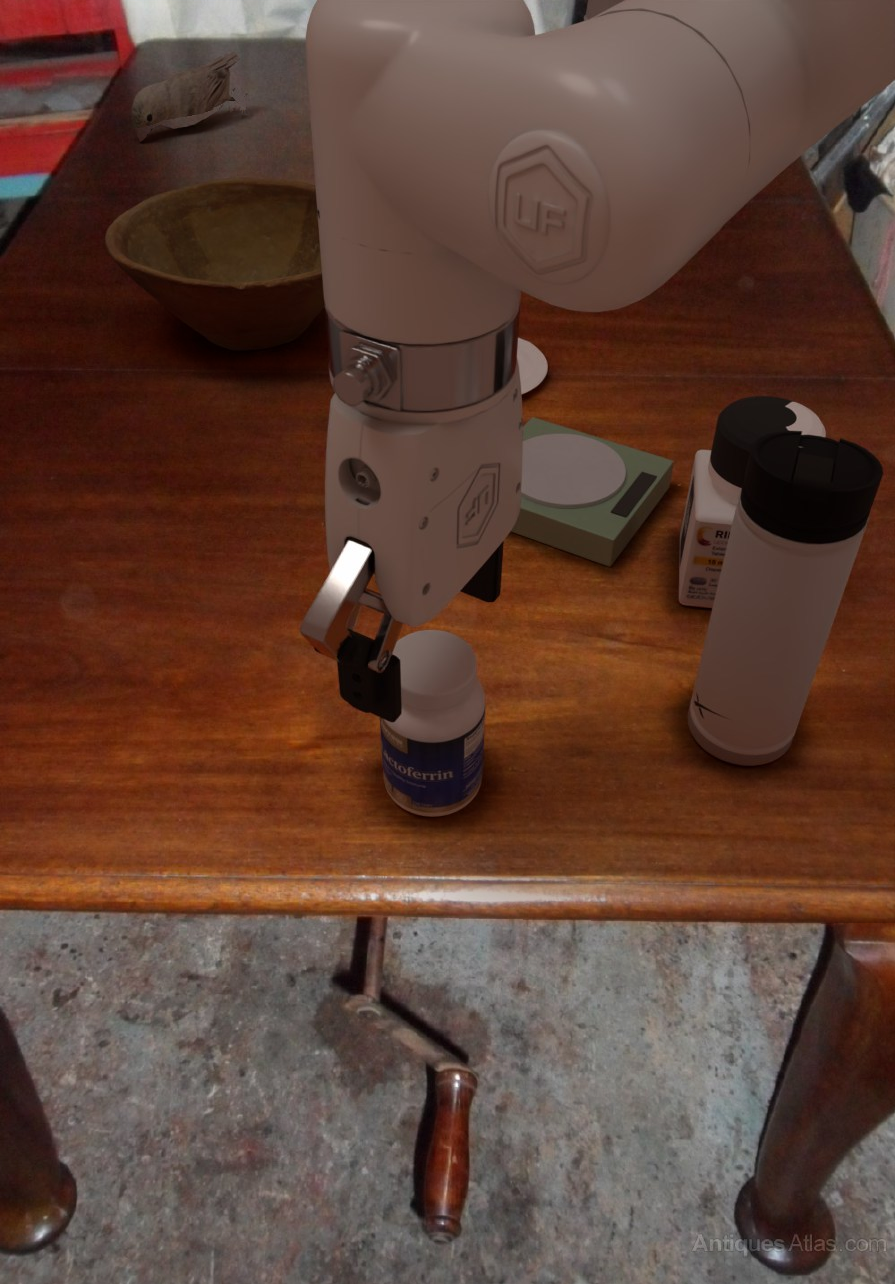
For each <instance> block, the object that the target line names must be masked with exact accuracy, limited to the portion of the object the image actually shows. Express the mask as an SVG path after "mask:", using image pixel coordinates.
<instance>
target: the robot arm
mask: <svg viewBox="0 0 895 1284" xmlns="http://www.w3.org/2000/svg"><path fill="white" fill-rule="evenodd" d="M310 11H311V12H310V14H309V16H308V17H309V18H308V21H307V25H306V32H305V61H306V77H307V78H306V79H307V90H308V91H307V93H308V103H309V104H308V105H309V116H310V117H309V118H310V131H311V143H312V144H311V147H312V158H313V159H312V160H313V170H314V171H313V172H314V185H316V199H317V213H318V227H319V240H320V253H321V266H322V279H323V293H324V304H325V307H324V316H325V326H326V327H325V329H326V341H327V354H328V355H327V358H328V372H329V381H330V385H331V388H332V389H333V391H334V393H333V395H332V397H331V399H330V403H329V413H328V423H327V434H326V450H325V470H324V511H325V512H324V514H325V515H324V519H325V522H324V524H325V525H324V527H325V538H326V540H325V542H326V552H327V560H328V561H327V562H328V568H329V574H328V575H327V577H326V579H325V581H324V582H323V584H322V586H321V587H320V589H319V591H318V593H317V594H316V596H315V598H314V600H313V602H312V603H311V605H310V607H309V608H308V610H307V612H306V614H305V615H304V617H303V619H302V621H301V624H300V628H299V631H300V632H299V633H300V634H301V636H302V637H303V638H304V639H305V640H306V641H307V642H308V643H309V644H310V645H311V646H312V647H313V649H314V651H315V652H316V653H319V654H321V655H323V656H325V657H328V658H329V659H332V660H334V661H336V666H337V676H338V678H337V679H338V687H339V688H338V689H339V695H340V697H341V699H342V700H343V701H345V702H346V703H348V704H349V706H351V707H352V708H354V709H355V710H358V711H360V712H362V713H366V714H372V715H374V716H376V717H379V719H380V718H383V719H385V720H387V721H389V722H395V721H396V720H397V719H398V717H399V716H400V715H401V713H402V703H401V666H400V659H399V658H398V657H397V656H395V655H393V654H392V653H393V651H394V648H395V645H396V642H397V641H398V640H399V636H400V633H401V631H402V628H403V625H407V626H408V627H411V628H417V627H420V626H423V625H425V624H427V623H429V622H430V621H432V620H433V619H435V618H436V617H437V616H438V615H440V613H442V611H444V609H445V608H446V607H447V606H448V605H449V604H450V603H451V602H452V601H453V600H454V599H455V597H456V596H457V595H458V594H459V593H460V592H461V593H462V594H466V595H467V596H471V597H473V598H476V599H478V600H481V601H482V602H485V603H495V602H496V600H497V599H498V598H499V597H500V595H501V587H502V574H503V573H502V572H503V558H504V544H505V543H504V541H505V539H506V538H507V537H508V535H509V534H510V533H511V530H512V528H513V527H514V525H515V523H516V521H517V518H518V516H519V512H520V503H521V486H522V452H523V426H524V425H523V424H524V423H523V398H522V395H523V394H521V381H520V372H519V365H518V359H517V346H518V338H519V332H520V331H519V329H520V314H521V298H522V297H521V296H522V292H523V293H524V294H526V295H528V296H530V297H533V298H535V299H536V300H539V301H542V302H544V303H546V304H549V305H551V306H555V307H558V308H561V309H565V310H569V311H575V312H584V313H600V312H601V313H602V312H608V311H614V310H618V309H623V308H625V307H628V306H630V305H632V304H635V303H637V302H639V301H641V300H643V299H645V298H647V297H649V296H650V295H651V294H652V293H654V292H655V291H656V290H658V289H659V288H661V287H662V286H663V285H665V283H667V282H668V281H669V280H670V279H671V278H673V276H674V275H675V274H677V273H678V272H679V271H680V270H681V269H682V268H683V267H684V266H685V265H687V263H688V262H689V261H690V260H691V259H692V258H693V257H695V255H696V254H697V253H698V252H699V251H701V249H702V248H703V247H704V246H705V245H706V244H708V243H709V241H710V240H711V239H713V238H714V237H715V236H716V234H718V232H720V231H721V230H722V228H723V227H724V226H725V224H726V223H728V222H729V221H730V220H731V219H732V218H733V217H734V216H735V215H736V214H737V213H738V212H739V211H740V210H741V209H742V208H743V207H744V206H745V205H747V204H748V203H749V202H750V201H751V200H752V199H753V198H755V196H757V195H758V194H759V193H760V192H761V191H762V190H764V188H766V187H767V186H769V184H770V183H771V182H773V180H775V178H777V177H778V176H779V175H780V174H781V173H783V172H784V170H786V169H787V168H788V167H789V166H791V165H792V164H793V163H794V162H795V161H796V160H797V159H798V158H800V157H801V156H802V155H803V154H805V153H806V152H807V151H808V150H810V149H811V148H812V147H813V146H814V145H815V144H817V143H819V141H821V140H822V139H823V138H824V137H826V136H827V135H828V134H829V133H830V132H832V131H833V130H835V129H836V128H837V127H838V126H840V125H841V123H843V122H845V120H847V119H848V118H849V117H850V116H852V115H853V114H855V113H856V112H857V111H858V110H859V109H861V108H862V107H863V106H865V105H866V104H867V103H869V101H870V100H873V98H875V97H876V96H878V95H879V94H880V93H881V92H882V91H883V90H885V89H886V88H887V87H888V86H890V85H891V84H892V83H894V82H895V0H625V1H623V2H621V3H619V4H617V5H615V6H613V7H612V8H610V9H608V10H606V11H604V12H602V13H600V14H598V15H597V16H595V17H593V18H591V19H589V20H586V21H584V20H583V21H579V22H577V23H573V24H570V25H567V26H564V27H560V28H556V29H553V30H549V31H546V32H542V33H538V34H536V30H535V23H534V20H533V19H534V18H533V16H532V13H531V10H530V9H529V7H528V5H527V4H526V2H525V0H316V1H315V4H314V5H313V7H312V9H311V10H310ZM373 576H374V580H375V585H376V587H377V589H378V592H377V591H374V590H372V589H369V588H367V587H368V585H369V583H370V582H371V580H372V578H373ZM363 606H365V607H367V608H370V609H372V610H374V611H376V612H379V613H381V614H382V617H381V620H380V623H379V625H378V629H377V631H376V634H375V637H374V639H373V638H372V637H370V636H369V637H368V636H366V635H365V634H363V633H360V632H357V631H356V630H355V627H356V624H357V622H358V621H357V620H358V619H359V616H360V614H361V613H360V612H361V609H362V607H363Z"/></svg>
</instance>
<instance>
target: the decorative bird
mask: <svg viewBox="0 0 895 1284" xmlns="http://www.w3.org/2000/svg"><path fill="white" fill-rule="evenodd" d="M238 54H239V53H238V52H237V51H233V52H230V53H226V54H224V55H223V56H221V55H219V56H217V57H216V58H214V59H213V60H211V61H208V62H207V63H205V64H203V65H202V66H197V67H193V68H188V69H186V70H182V71H180V72H176V73H175V74H173V75H172V76H170V77H167V78H166V79H165V80H163V81H161V82H156V83H152V84H149V85H147V86H145V87H143V88H141V89H140V90H139V91H138V92H137V93H136V94H135V97H134V99H133V101H132V104H131V121H132V125H133V127H134V126H135V127H137V128H139V127H140V128H142V127H146V126H150V125H153V124H156V123H159V122H161V121H163V120H169V119H175V118H179V117H187V116H192V115H198V114H203V113H205V112H208V111H211V110H213V108H214V107H217V106H219V105H221V104H223V103H224V104H225V102H229V101H236V99H234V98H235V97H234V98H233V97H231V94H230V83H231V82H230V79H231V78H230V77H231V72H230V69H231V67H233V66H234V65H235V64H236V63H237V62H239V61H240V60H241V57H240V56H239V55H238ZM235 90H236V87H235V88H233V89H232V91H234V92H235ZM245 95H247V96H248V93H245ZM224 104H223V105H224Z"/></svg>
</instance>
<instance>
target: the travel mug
mask: <svg viewBox="0 0 895 1284" xmlns="http://www.w3.org/2000/svg"><path fill="white" fill-rule="evenodd" d="M801 434H802V431H779V432H774V433H770V434H767V435H765V436H763V437H761V438H759V439H758V440H757V441H755V442H754V444H753V446H752V447H751V451H750V455H749V459H748V464H747V468H746V472H745V479H744V482H743V485H742V488H741V490H740V493H739V497H738V504H737V506H736V510H735V514H734V519H733V523H732V527H731V531H730V536H729V540H728V544H727V548H726V553H725V557H724V561H723V566H722V570H721V574H720V578H719V583H718V587H717V591H716V596H715V600H714V604H713V608H711V613H710V618H709V621H708V626H707V630H706V634H705V639H704V643H703V647H702V651H701V657H700V660H699V664H698V669H697V673H696V678H695V680H694V681H695V682H694V686H693V690H692V696H691V699H690V702H689V707H688V711H687V726H688V729H689V731H690V734H691V736H692V737H693V739H694V740H695V742H696V743H697V744H698V745H699V746H700V747H701V748H702V749H703V750H704V751H705V752H706V753H709V754H710V755H711V756H713V757H715V758H717V759H719V760H721V761H724V762H726V763H728V764H733V765H738V766H747V767H749V766H750V767H753V766H762V765H765V764H769V763H772V762H775V761H776V760H778V759H780V758H781V757H782V756H783V755H785V754H787V752H788V751H789V749H790V748H791V746H792V743H793V740H794V737H795V735H796V731H797V728H798V726H799V722H800V720H801V717H802V714H803V711H804V708H805V706H806V703H807V700H808V697H809V694H810V691H811V688H812V686H813V682H814V679H815V677H816V673H817V671H818V668H819V665H820V662H821V659H822V657H823V654H824V650H825V648H826V644H827V642H828V640H829V636H830V633H831V630H832V628H833V624H834V621H835V620H836V619H835V618H836V616H837V613H838V610H839V608H840V604H841V601H842V598H843V595H844V593H845V590H846V587H847V584H848V581H849V578H850V575H851V572H852V570H853V567H854V564H855V560H856V558H857V555H858V552H859V549H860V546H861V543H862V541H863V538H864V535H865V531H866V529H867V526H868V523H869V520H870V515H871V510H872V508H873V506H874V502H875V499H876V497H877V493H878V491H879V487H880V485H881V481H882V479H883V476H884V468H883V465H882V464H881V462H880V460H879V459H878V458H877V457H876V456H875V455H874V454H873V453H872V452H871V451H869V450H868V449H867V448H865V447H863V446H861V445H860V444H857V443H855V442H852V441H850V440H847V439H844V438H841V437H840V438H839V440H836V439H834V438H829V437H827V436H825V437H821V436H815V435H801Z"/></svg>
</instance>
